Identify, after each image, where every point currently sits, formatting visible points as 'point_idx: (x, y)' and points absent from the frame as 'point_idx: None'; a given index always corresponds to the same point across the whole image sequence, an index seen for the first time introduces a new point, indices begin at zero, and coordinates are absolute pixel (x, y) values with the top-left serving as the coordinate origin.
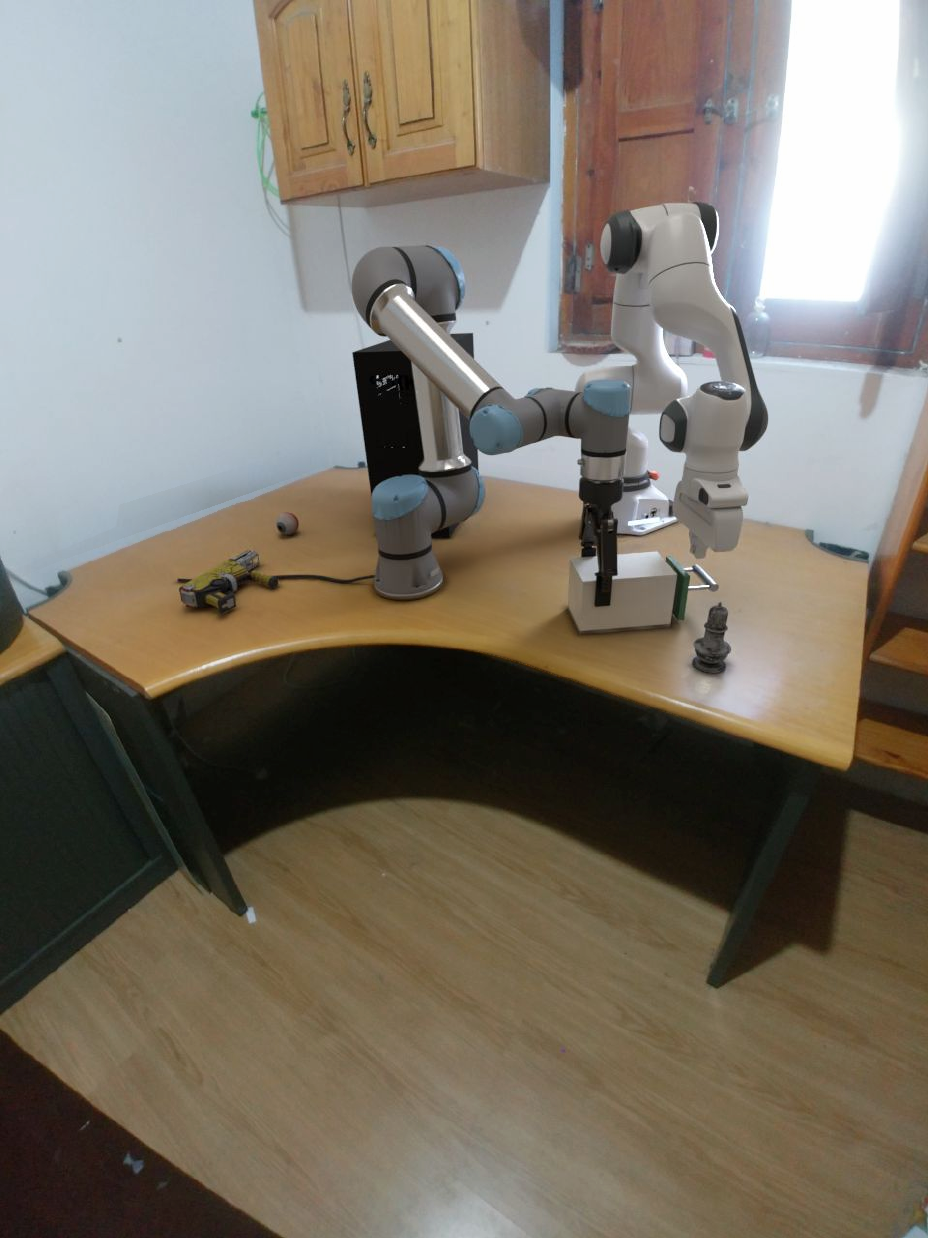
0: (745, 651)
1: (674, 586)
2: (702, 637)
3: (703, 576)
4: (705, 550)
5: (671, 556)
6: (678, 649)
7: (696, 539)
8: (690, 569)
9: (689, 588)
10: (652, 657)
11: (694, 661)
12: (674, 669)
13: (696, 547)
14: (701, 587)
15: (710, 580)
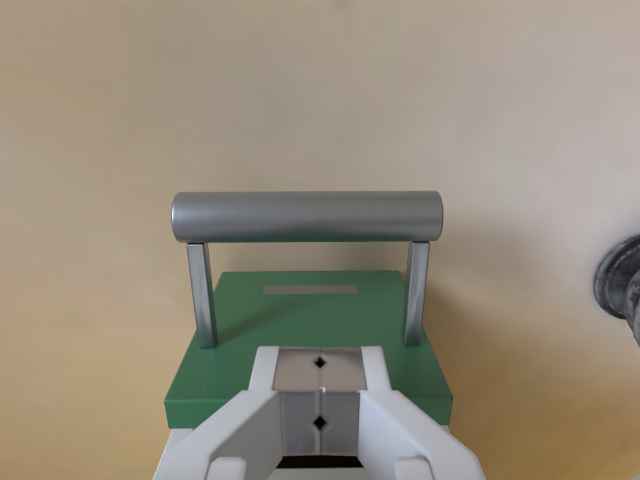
0: (621, 127)
1: (449, 432)
2: (635, 320)
3: (325, 239)
4: (388, 389)
5: (173, 406)
6: (531, 325)
7: (250, 461)
8: (204, 257)
9: (419, 336)
10: (544, 398)
11: (622, 315)
12: (618, 366)
13: (374, 473)
14: (424, 282)
15: (394, 230)
